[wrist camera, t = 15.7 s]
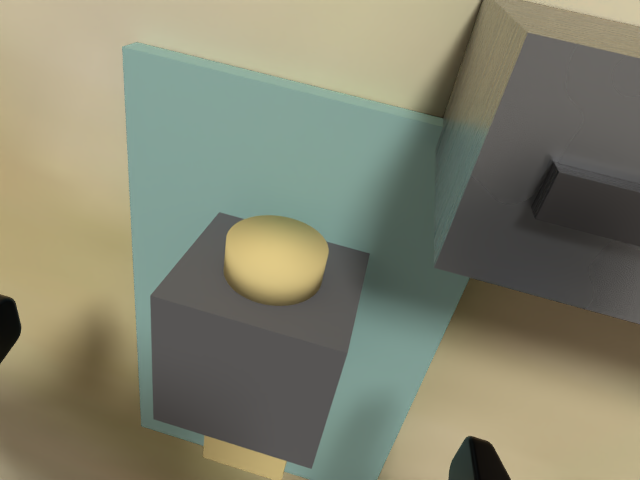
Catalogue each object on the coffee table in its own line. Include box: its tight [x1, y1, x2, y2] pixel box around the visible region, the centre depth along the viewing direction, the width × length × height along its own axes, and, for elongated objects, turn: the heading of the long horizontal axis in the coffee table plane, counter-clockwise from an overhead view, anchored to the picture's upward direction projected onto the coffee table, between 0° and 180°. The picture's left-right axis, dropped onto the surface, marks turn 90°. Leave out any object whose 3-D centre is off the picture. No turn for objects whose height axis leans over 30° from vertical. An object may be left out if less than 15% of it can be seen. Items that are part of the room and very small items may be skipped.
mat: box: [122, 42, 469, 480], centre depth 14 cm, size 14×9×1 cm, turn 168°
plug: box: [150, 212, 370, 480], centre depth 13 cm, size 9×4×4 cm, turn 168°
